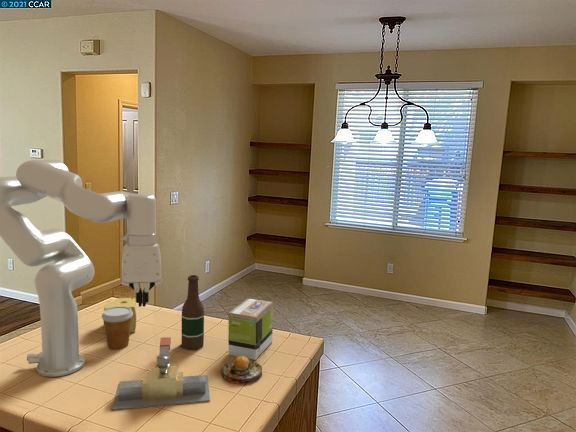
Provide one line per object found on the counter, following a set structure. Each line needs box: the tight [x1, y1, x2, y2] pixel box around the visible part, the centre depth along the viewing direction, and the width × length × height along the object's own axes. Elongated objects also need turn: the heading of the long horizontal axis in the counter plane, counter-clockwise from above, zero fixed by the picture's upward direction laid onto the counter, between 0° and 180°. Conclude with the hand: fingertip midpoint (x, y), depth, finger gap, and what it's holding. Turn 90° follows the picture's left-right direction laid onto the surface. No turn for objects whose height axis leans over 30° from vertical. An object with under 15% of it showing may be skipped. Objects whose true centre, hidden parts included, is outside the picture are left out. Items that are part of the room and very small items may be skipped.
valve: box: [117, 365, 206, 401], centre depth 114 cm, size 22×6×8 cm, turn 103°
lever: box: [156, 336, 172, 369], centre depth 119 cm, size 15×3×2 cm, turn 13°
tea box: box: [227, 297, 274, 361], centre depth 143 cm, size 15×10×15 cm, turn 161°
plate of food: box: [221, 356, 263, 385], centre depth 127 cm, size 12×12×8 cm
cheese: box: [102, 297, 137, 336], centre depth 155 cm, size 10×11×10 cm
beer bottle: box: [181, 274, 205, 351], centre depth 143 cm, size 8×8×24 cm
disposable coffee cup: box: [101, 306, 133, 351], centre depth 141 cm, size 10×10×12 cm
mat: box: [111, 374, 211, 411], centre depth 116 cm, size 24×13×1 cm, turn 103°
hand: (142, 304), depth 119 cm, fingers closed
